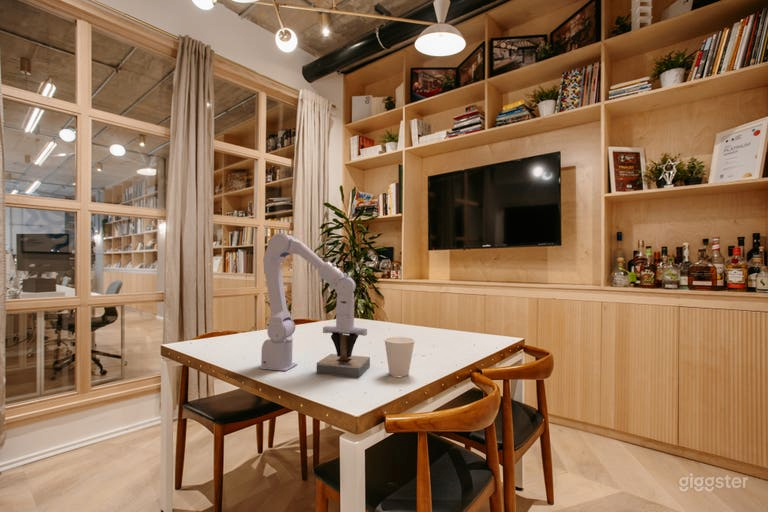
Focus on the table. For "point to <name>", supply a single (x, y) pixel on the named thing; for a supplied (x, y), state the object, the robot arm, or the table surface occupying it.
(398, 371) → the cup
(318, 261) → the robot arm
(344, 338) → the brown wooden block
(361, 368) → the grey block with hole
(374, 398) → the table surface
